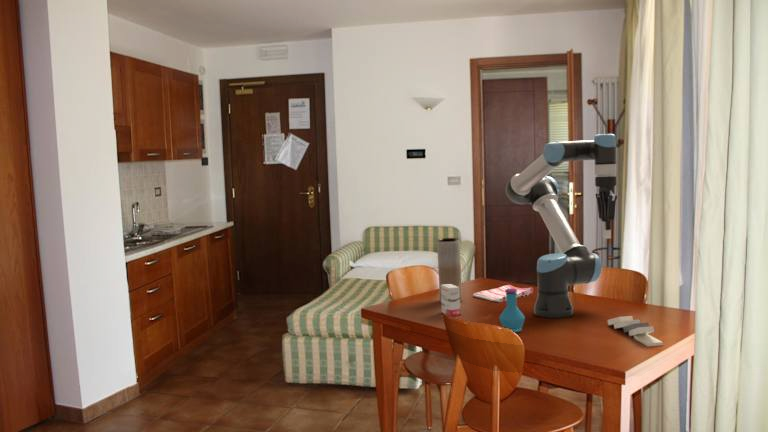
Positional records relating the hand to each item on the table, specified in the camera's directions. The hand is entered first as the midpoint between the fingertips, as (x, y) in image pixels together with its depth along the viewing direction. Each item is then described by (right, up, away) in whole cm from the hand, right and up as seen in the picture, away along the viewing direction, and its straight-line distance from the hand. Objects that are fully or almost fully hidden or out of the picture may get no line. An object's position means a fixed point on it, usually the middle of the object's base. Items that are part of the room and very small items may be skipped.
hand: (606, 238), depth 244 cm
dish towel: (-30, -28, +51) cm, 65 cm away
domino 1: (+1, -31, -11) cm, 33 cm away
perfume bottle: (-37, -34, -6) cm, 50 cm away
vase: (-54, -30, +44) cm, 76 cm away
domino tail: (+3, -33, -24) cm, 41 cm away
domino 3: (+3, -32, -22) cm, 39 cm away
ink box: (-56, -32, +22) cm, 69 cm away
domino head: (+1, -30, -7) cm, 31 cm away
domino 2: (+3, -31, -17) cm, 36 cm away
